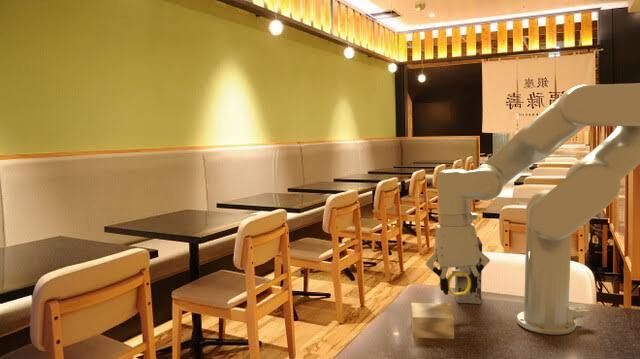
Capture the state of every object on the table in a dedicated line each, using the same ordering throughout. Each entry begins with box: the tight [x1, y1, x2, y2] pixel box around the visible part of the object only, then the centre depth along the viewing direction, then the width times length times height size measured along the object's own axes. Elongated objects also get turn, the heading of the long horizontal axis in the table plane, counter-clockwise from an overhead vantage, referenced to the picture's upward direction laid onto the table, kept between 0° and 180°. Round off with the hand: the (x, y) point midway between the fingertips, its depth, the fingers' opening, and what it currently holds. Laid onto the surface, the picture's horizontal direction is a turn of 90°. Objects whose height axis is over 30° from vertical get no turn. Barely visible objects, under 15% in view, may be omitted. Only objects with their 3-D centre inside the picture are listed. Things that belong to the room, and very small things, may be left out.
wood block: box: [410, 302, 455, 340], centre depth 120 cm, size 9×9×5 cm
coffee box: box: [454, 236, 483, 305], centre depth 140 cm, size 9×6×16 cm
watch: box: [447, 269, 471, 297], centre depth 127 cm, size 6×3×6 cm, turn 98°
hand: (459, 291), depth 127 cm, fingers closed on watch, 6 cm apart
